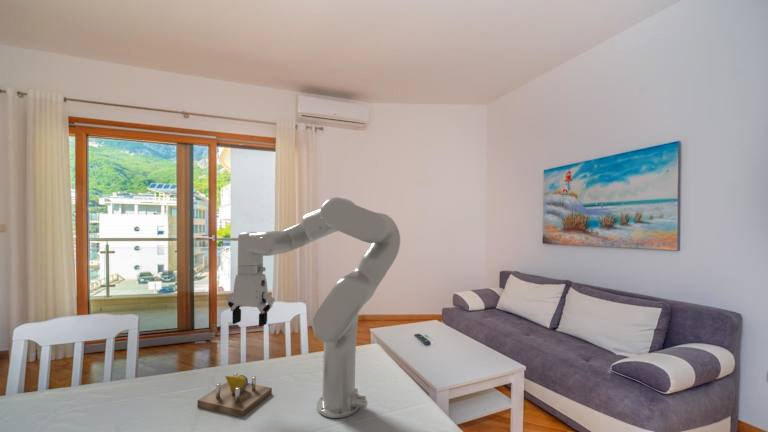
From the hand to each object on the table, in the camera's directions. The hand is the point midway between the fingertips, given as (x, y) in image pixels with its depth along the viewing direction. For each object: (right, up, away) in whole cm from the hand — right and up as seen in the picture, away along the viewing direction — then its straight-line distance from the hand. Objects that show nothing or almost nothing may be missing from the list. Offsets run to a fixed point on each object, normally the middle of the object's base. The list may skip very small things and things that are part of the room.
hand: (249, 323), depth 103 cm
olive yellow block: (-2, -20, -5) cm, 21 cm away
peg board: (-2, -22, -5) cm, 22 cm away
